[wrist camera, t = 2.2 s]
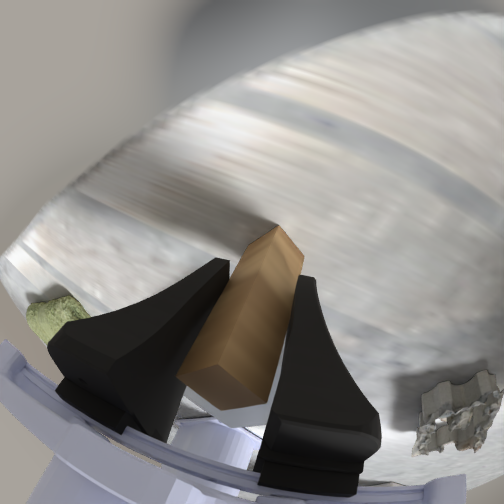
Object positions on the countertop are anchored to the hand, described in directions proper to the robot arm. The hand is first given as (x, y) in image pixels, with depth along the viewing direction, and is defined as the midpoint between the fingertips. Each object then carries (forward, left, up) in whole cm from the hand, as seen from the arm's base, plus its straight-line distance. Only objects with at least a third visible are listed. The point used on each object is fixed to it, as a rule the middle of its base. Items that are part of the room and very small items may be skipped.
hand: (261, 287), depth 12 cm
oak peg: (0, 0, -3) cm, 3 cm away
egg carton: (+4, -21, -3) cm, 22 cm away
